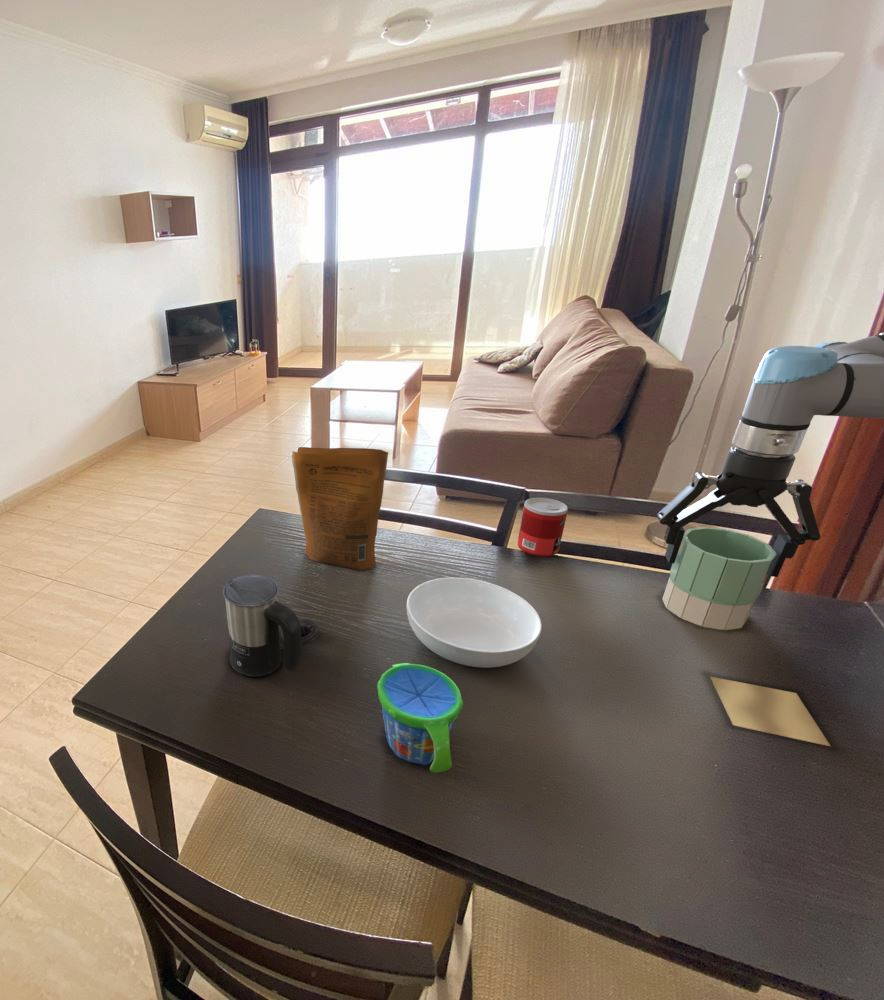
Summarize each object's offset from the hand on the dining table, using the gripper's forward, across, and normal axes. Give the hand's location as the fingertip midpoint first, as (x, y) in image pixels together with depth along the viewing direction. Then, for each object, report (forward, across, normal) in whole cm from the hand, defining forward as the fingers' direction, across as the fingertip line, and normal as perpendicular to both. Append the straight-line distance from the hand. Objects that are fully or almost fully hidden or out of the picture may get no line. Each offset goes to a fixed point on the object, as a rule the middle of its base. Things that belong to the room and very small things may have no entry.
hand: (718, 565), depth 92 cm
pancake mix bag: (+10, -65, -3) cm, 66 cm away
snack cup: (+10, -44, -47) cm, 65 cm away
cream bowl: (+10, 0, 0) cm, 10 cm away
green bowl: (+7, 0, 0) cm, 7 cm away
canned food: (+10, -25, +15) cm, 31 cm away
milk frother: (+10, -69, -35) cm, 78 cm away
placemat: (+10, +1, -24) cm, 26 cm away
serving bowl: (+10, -38, -22) cm, 45 cm away
